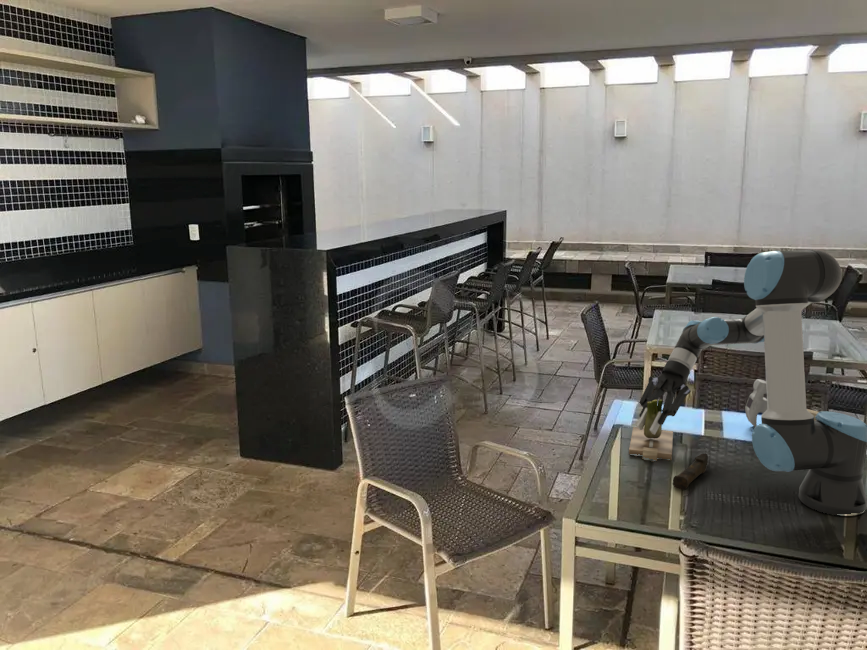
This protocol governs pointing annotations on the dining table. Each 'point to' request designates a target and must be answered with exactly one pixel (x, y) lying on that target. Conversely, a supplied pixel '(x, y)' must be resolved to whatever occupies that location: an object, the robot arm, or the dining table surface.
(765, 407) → the hammer
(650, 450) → the tan wooden board
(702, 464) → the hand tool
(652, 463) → the dining table surface
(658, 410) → the fennel bulb
